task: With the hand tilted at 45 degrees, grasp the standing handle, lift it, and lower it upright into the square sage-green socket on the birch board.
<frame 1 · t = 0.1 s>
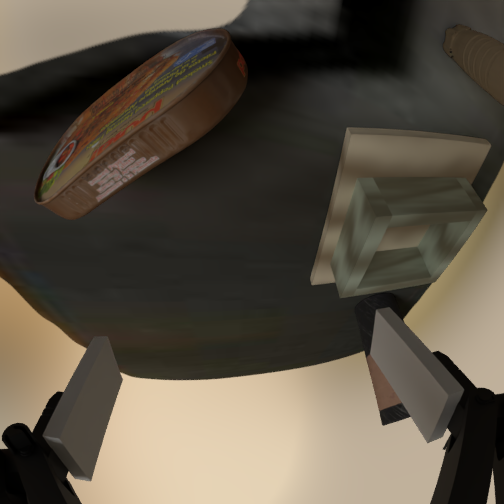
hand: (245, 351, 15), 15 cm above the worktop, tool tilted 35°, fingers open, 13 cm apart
tin: (137, 92, 19), on the worktop
travel mug: (374, 302, 50), on the worktop
socket board: (394, 215, 32), on the worktop
handle: (454, 40, 16), on the worktop
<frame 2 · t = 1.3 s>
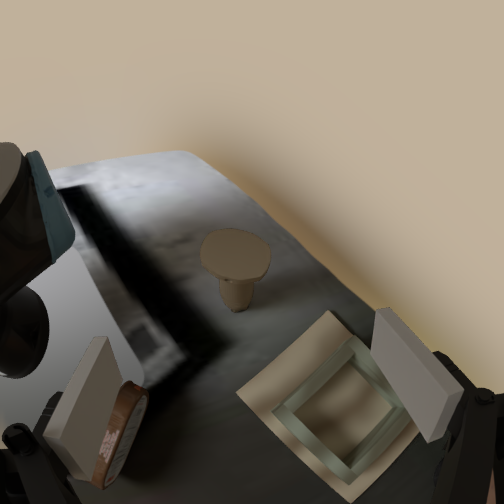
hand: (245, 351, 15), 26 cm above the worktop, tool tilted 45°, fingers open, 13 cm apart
tin: (128, 435, 34), on the worktop
travel mug: (451, 471, 31), on the worktop
socket board: (340, 410, 36), on the worktop
handle: (237, 302, 43), on the worktop
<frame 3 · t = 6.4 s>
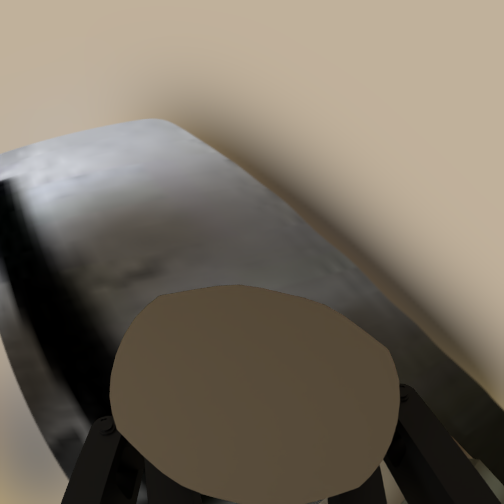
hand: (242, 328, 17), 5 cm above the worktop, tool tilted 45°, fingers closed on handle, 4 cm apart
handle: (249, 400, 20), on the worktop, touching gripper
when the fingers open (7 cm above the worktop, at t = 12.0 s): handle stays where it is, resting on socket board.
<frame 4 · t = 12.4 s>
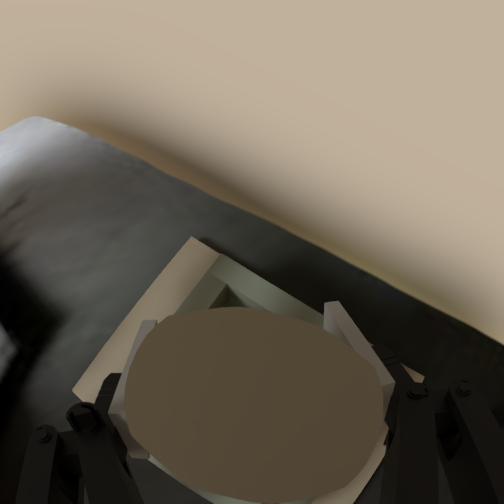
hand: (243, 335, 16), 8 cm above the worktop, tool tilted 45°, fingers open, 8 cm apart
socket board: (249, 400, 21), on the worktop
handle: (247, 401, 21), point 1 cm above the worktop, touching socket board
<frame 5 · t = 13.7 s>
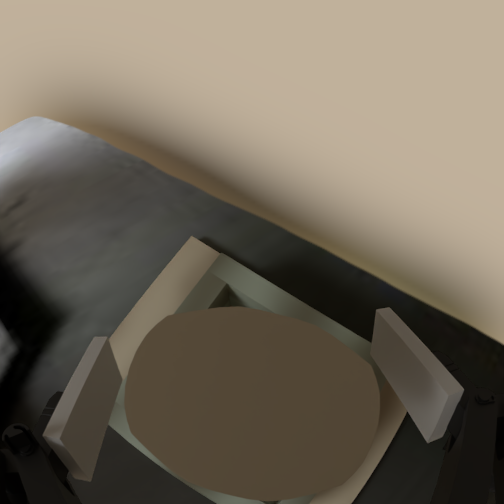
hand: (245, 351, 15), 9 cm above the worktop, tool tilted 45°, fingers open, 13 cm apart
socket board: (249, 398, 21), on the worktop
handle: (247, 400, 21), point 1 cm above the worktop, touching socket board
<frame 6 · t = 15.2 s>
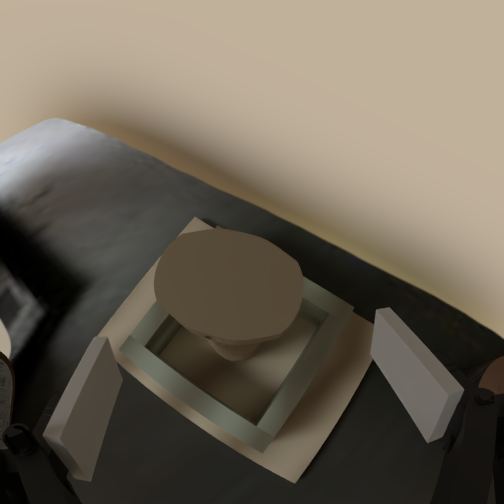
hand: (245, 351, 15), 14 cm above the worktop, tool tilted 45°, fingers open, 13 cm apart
tin: (7, 418, 23), on the worktop
travel mug: (449, 407, 25), on the worktop
socket board: (239, 345, 28), on the worktop
handle: (237, 344, 27), point 1 cm above the worktop, touching socket board
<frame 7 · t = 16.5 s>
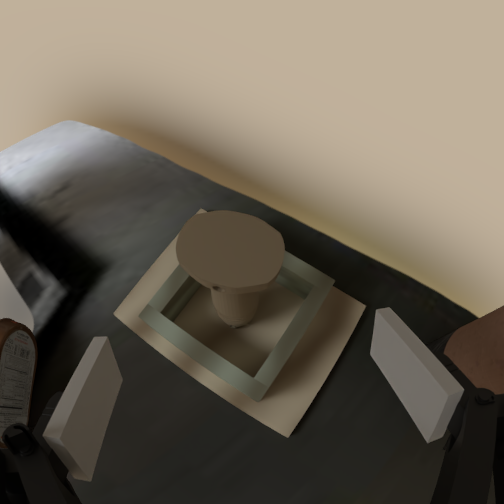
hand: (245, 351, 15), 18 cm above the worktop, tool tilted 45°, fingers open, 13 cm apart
tin: (28, 389, 28), on the worktop
travel mug: (427, 376, 30), on the worktop
socket board: (239, 316, 33), on the worktop
handle: (237, 315, 32), point 1 cm above the worktop, touching socket board
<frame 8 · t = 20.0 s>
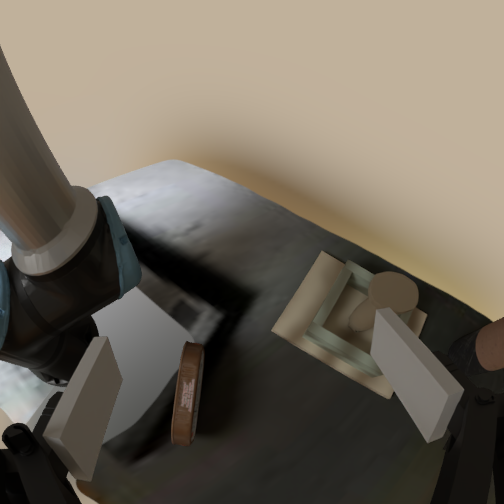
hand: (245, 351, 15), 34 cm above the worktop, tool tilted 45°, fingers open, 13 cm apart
tin: (193, 395, 44), on the worktop
travel mug: (461, 358, 46), on the worktop
socket board: (355, 324, 49), on the worktop
handle: (355, 324, 48), point 1 cm above the worktop, touching socket board
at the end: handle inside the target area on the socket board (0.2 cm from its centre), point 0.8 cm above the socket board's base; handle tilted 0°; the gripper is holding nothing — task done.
